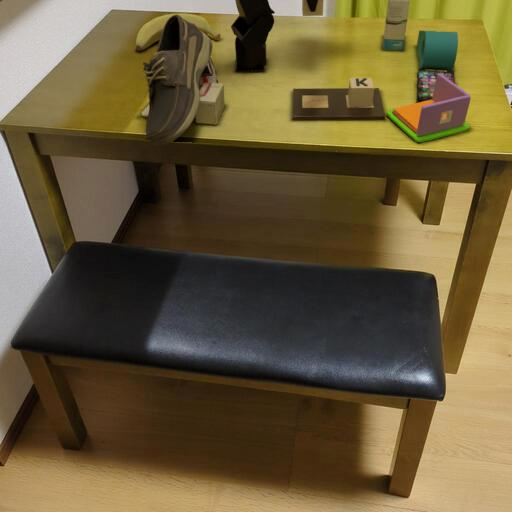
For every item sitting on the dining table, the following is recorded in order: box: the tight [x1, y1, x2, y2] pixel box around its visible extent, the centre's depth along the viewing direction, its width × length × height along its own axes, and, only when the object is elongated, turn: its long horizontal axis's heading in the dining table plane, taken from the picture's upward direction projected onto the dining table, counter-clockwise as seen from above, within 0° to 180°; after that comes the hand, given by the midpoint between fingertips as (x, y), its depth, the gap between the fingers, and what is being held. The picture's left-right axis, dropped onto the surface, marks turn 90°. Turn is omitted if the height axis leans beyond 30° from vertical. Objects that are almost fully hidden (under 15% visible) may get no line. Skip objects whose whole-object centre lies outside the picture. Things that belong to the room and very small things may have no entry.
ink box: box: [382, 0, 411, 51], centre depth 137 cm, size 8×5×12 cm, turn 168°
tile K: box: [348, 77, 375, 106], centre depth 117 cm, size 4×4×4 cm
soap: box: [141, 104, 150, 118], centre depth 121 cm, size 10×4×1 cm, turn 162°
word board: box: [292, 87, 386, 121], centre depth 119 cm, size 18×12×1 cm, turn 87°
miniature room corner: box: [386, 74, 472, 143], centre depth 110 cm, size 12×12×7 cm
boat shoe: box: [141, 15, 213, 147], centre depth 111 cm, size 11×29×11 cm
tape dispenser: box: [416, 30, 459, 70], centre depth 130 cm, size 7×15×8 cm, turn 172°
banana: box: [135, 12, 221, 51], centre depth 145 cm, size 14×6×20 cm
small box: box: [194, 82, 226, 126], centre depth 116 cm, size 5×4×8 cm
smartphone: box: [416, 67, 456, 103], centre depth 122 cm, size 8×1×15 cm
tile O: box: [301, 0, 325, 17], centre depth 130 cm, size 4×4×4 cm
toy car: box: [199, 56, 219, 91], centre depth 126 cm, size 8×18×8 cm, turn 10°
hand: (312, 7), depth 130 cm, fingers closed on tile O, 4 cm apart
